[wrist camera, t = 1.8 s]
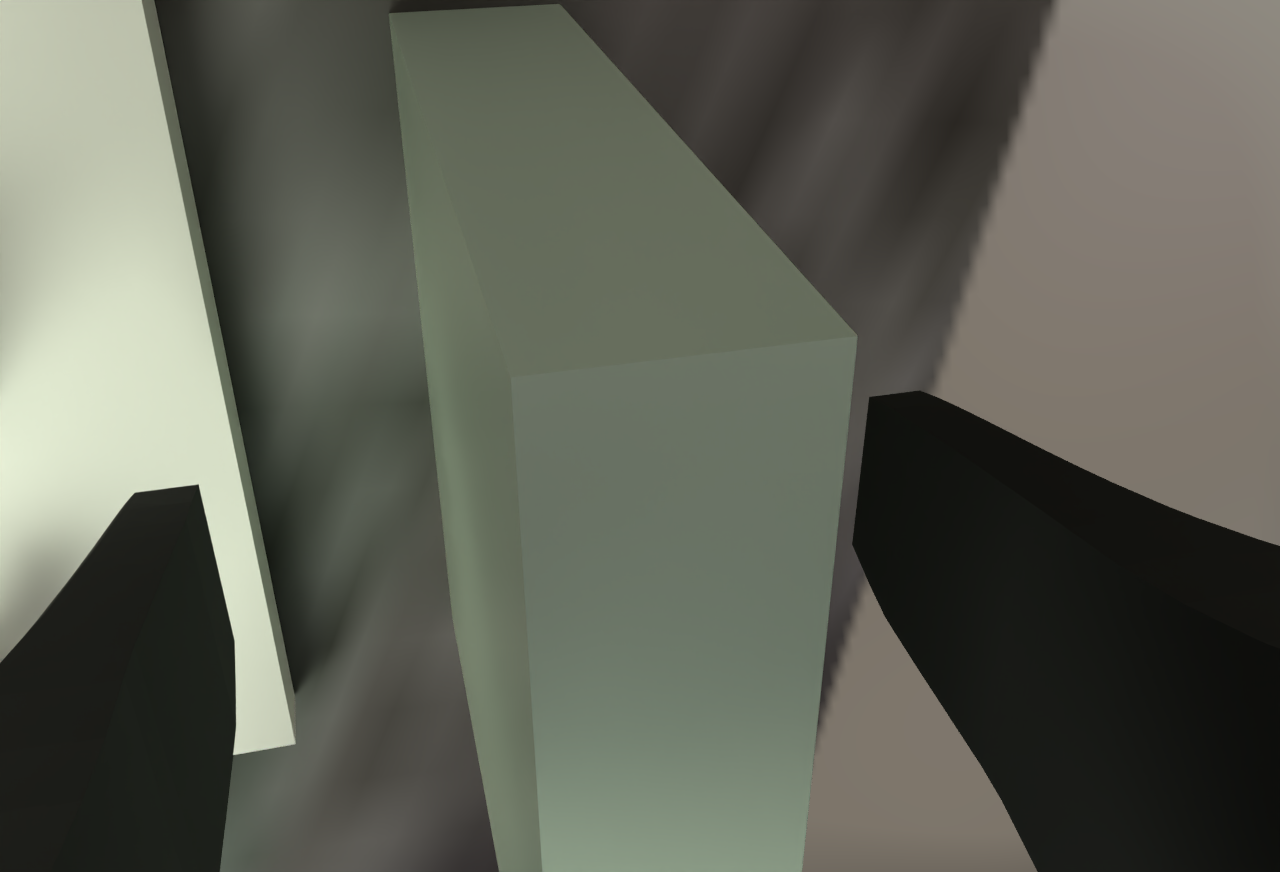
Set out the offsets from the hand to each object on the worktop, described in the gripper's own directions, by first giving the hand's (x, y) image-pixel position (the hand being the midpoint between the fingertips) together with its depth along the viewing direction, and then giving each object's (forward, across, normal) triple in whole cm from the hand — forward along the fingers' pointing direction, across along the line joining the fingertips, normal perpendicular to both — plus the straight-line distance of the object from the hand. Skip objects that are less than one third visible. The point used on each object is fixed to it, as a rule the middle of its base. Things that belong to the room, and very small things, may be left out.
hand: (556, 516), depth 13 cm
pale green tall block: (+4, 0, 0) cm, 4 cm away
